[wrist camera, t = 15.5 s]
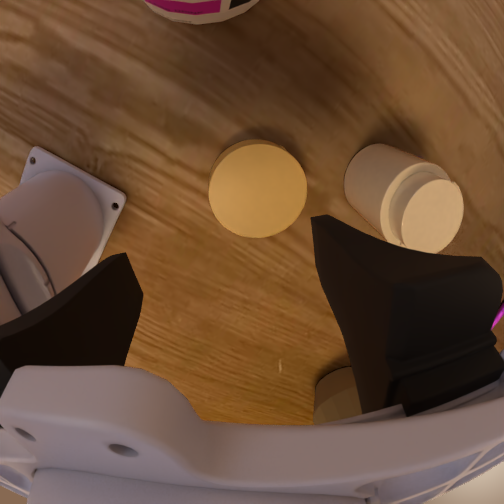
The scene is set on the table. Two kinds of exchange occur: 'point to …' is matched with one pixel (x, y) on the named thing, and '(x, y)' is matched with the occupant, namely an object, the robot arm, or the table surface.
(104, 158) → the table surface
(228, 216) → the lid
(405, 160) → the jar
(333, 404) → the squeeze bottle
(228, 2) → the supplement can
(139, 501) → the robot arm
